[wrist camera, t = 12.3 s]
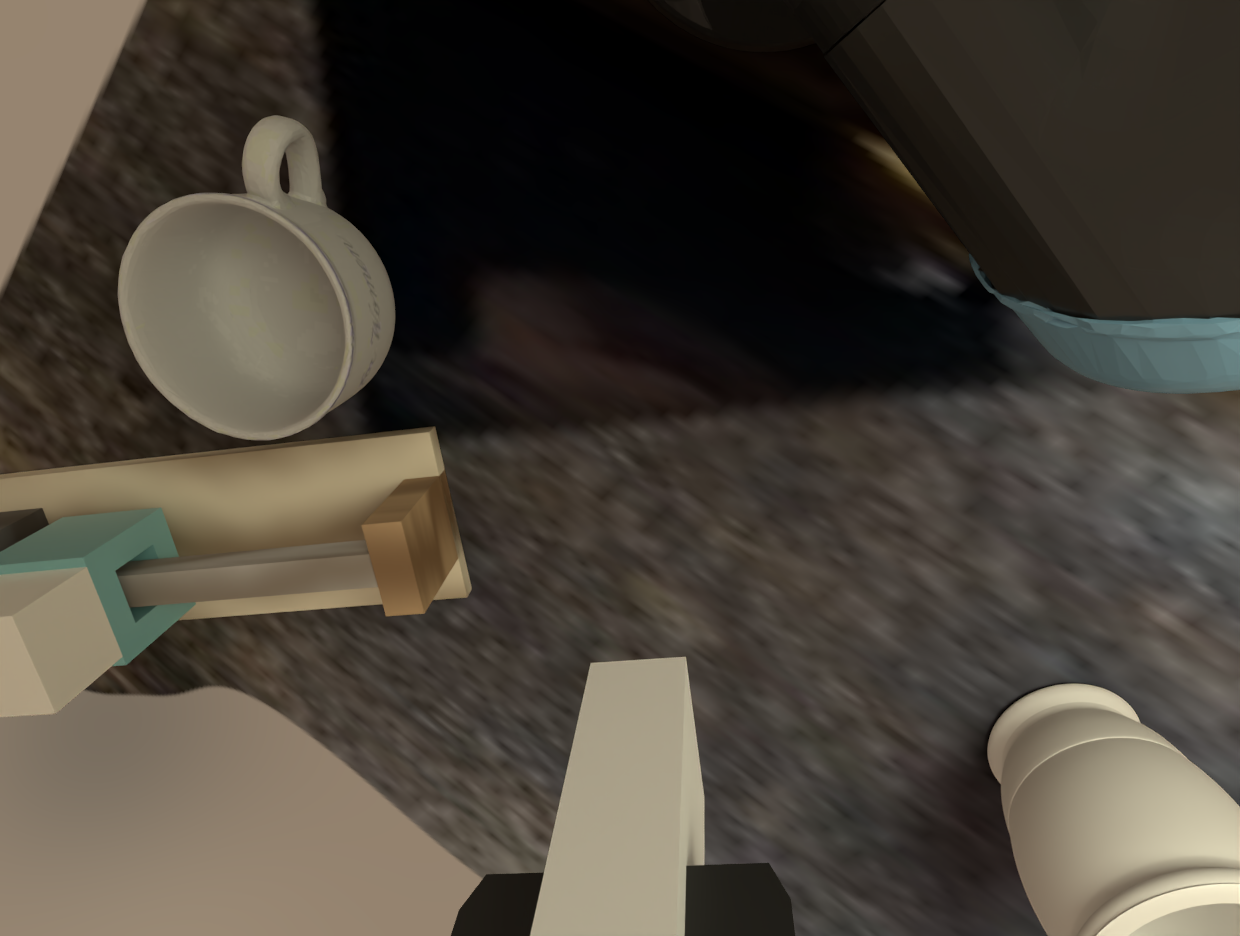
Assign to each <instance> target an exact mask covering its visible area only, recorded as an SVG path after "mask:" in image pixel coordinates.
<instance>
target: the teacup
mask: <svg viewBox="0 0 1240 936" xmlns="http://www.w3.org/2000/svg"><path fill="white" fill-rule="evenodd" d="M284 153H286V157H287V162H288V170H289V183H290V192H289V193H288V194H286V193H285V192H283V191H282V189H281V186H280V178H279V171H280V165H281V161H282V158H283V155H284ZM242 171H243V178H244V183H245V187H246V191H247V193H245V194H226V193H197V194H191V195H187V196H183V197H179V198H176V199H173V200H171V201H169V202H168V203H166V204H164V205H162V206H160V207H158V208H157V209H156V210H154V211H153V212H152V213H151V214H150V215H148V216H147V217H146V218H145V219H144V220H143V222H142V223H141V224H140V225H139V226H138V228H137V229H136V231H135V232H134V233H133V235H132V237H131V239H130V241H129V244H128V246H127V248H126V250H125V252H124V255H123V257H122V261H121V266H120V270H119V280H118V302H119V309H120V315H121V320H122V324H123V328H124V331H125V334H126V337H127V340H128V343H129V345H130V347H131V349H132V351H133V353H134V356H135V358H136V360H137V361H138V363H139V365H140V366H141V368H142V370H143V371H144V373H145V374H146V375H147V377H148V378H149V380H150V381H151V382H152V384H153V385H154V386H155V387H156V388H157V389H158V390H159V391H160V392H161V393H162V394H163V395H164V396H165V397H166V398H167V399H168V400H169V401H170V402H171V403H172V404H173V405H175V406H176V407H177V408H178V409H180V410H181V411H182V412H183V413H185V414H186V415H187V416H189V417H190V418H191V419H193V420H195V421H197V422H198V423H200V424H202V425H204V426H206V427H207V428H209V429H211V430H213V431H215V432H217V433H222V434H225V435H229V436H232V437H236V438H241V439H247V440H273V439H279V438H283V437H286V436H290V435H293V434H295V433H298V432H300V431H302V430H304V429H306V428H308V427H310V426H311V425H313V424H314V423H316V422H317V421H319V420H320V419H321V418H322V417H324V416H325V415H326V414H327V413H328V412H330V411H331V410H333V409H334V408H336V407H337V406H339V405H340V404H342V403H343V402H345V401H346V400H348V399H349V398H351V397H352V396H353V395H355V394H356V393H357V392H358V391H359V390H361V389H362V388H363V387H364V386H365V385H366V384H367V383H368V382H369V381H370V380H371V379H372V378H373V376H374V375H375V374H376V372H377V371H378V370H379V368H380V367H381V365H382V363H383V361H384V359H385V357H386V355H387V353H388V351H389V348H390V345H391V342H392V338H393V334H394V327H395V302H394V296H393V291H392V287H391V283H390V280H389V277H388V274H387V272H386V269H385V267H384V265H383V263H382V261H381V259H380V258H379V256H378V254H377V252H376V251H375V249H374V248H373V247H372V245H371V244H370V243H369V241H368V240H367V239H366V238H365V237H364V235H363V234H362V233H361V232H360V231H359V230H358V229H357V228H356V227H355V226H354V225H352V224H351V223H350V222H349V221H348V220H346V219H345V218H343V217H342V216H340V215H339V214H337V213H336V212H334V211H332V210H330V209H328V208H327V205H326V197H325V194H324V192H323V190H322V184H321V173H320V165H319V158H318V151H317V147H316V144H315V141H314V139H313V136H312V134H311V133H310V132H309V130H308V129H307V128H306V127H305V126H303V125H302V124H301V123H299V122H298V121H296V120H293V119H291V118H287V117H282V116H278V115H274V116H270V117H266V118H264V119H261V120H260V121H259V122H258V123H257V124H256V125H255V126H254V127H253V128H252V130H251V132H250V133H249V135H248V137H247V140H246V143H245V146H244V150H243V158H242Z"/></svg>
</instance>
